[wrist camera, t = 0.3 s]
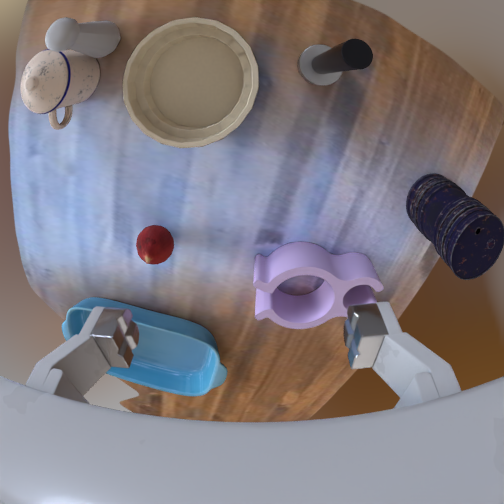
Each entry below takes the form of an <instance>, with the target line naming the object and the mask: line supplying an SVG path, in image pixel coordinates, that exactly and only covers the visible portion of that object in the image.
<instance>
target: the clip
mask: <svg viewBox="0 0 504 504" xmlns="http://www.w3.org/2000/svg"><path fill="white" fill-rule="evenodd" d="M299 275H313V276H317V277H320V278H322V279H324V280H325V281H324V282H323V284H322V285H321V286H320V287H319V288H318V289H317V290H315V291H313V292H311V293H309V294H306V295H299V296H295V295H289V294H285V293H283V292H281V291H280V290H278V289H277V286H278V285H279V284H281V283H282V282H283V281H285V280H287V279H289V278H291V277H294V276H299ZM253 285H254V287H256V304H255V318H256V319H257V320H262V319H264V318H270V319H271V320H272V321H273V322H275V323H277V324H278V325H281V326H283V327H287V328H292V329H306V328H311V327H315V326H318V325H320V324H322V323H324V322H326V321H328V320H329V319H331V318H334V317H338V316H344V317H348V315H347V310H348V307H349V305H355V304H367V303H377V301H376V298H375V296H374V294H373V291H372V289H371V287H373V288H374V289H375V291H376V292H379V291H382V290H383V285H382V283H381V281H380V279H379V277H378V275H377V273H376V271H375V269H374V266H373V264H372V262H371V261H370V259H369V258H368V257H367V256H366V255H364V254H362V253H358V252H350V253H346V254H343V255H333V254H330V253H329V252H327V251H326V250H325V249H324V248H322V247H321V246H319V245H316V244H314V243H310V242H293V243H289V244H286V245H283V246H281V247H279V248H278V249H276V250H275V251H274V252H272V253H271V254H270V256H268V257H264V256H263V255H261V254H258V255H256V257H255V266H254V284H253Z"/></svg>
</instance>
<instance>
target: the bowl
mask: <svg viewBox="0 0 504 504" xmlns="http://www.w3.org/2000/svg"><path fill="white" fill-rule="evenodd" d="M122 85H123V96H124V103H125V105H126V107H127V110H128V112H129V114H130V117H131V119H132V120H133V122H134V123H135V124H136V125H137V126H138V127H139V128H140V129H141V131H142V132H143V133H144V134H146V135H147V136H149V137H151V138H152V139H154V140H156V141H158V142H159V143H162V144H165V145H169V146H174V147H178V148H190V147H203V146H205V145H208V144H210V143H213V142H216V141H218V140H221V139H223V138H224V137H225V136H227V135H228V134H229V133H231V132H232V131H233V130H235V129H236V128H237V127H239V126H240V124H241V123H242V122H243V120H244V119H245V117H246V116H247V115H248V113H249V112H250V110H251V109H252V107H253V105H254V103H255V100H256V96H257V93H258V90H259V68H258V65H257V62H256V60H255V57H254V55H253V52H252V50H251V47H250V46H249V45H248V43H247V42H246V41H245V40H244V39H243V38H242V37H241V36H240V35H239V34H238V32H237V31H235V30H234V29H232V28H230V27H228V26H226V25H224V24H222V23H220V22H218V21H216V20H210V19H204V18H197V17H193V18H186V19H180V20H174V21H171V22H169V23H167V24H165V25H163V26H161V27H159V28H157V29H155V30H154V31H152V32H151V33H150V34H149V35H148V36H146V37H145V38H144V39H143V40H142V41H141V42H140V43H139V44H138V45H137V46H136V48H135V50H134V51H133V53H132V55H131V57H130V58H129V60H128V62H127V65H126V69H125V73H124V77H123V82H122Z"/></svg>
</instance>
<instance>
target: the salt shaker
mask: <svg viewBox="0 0 504 504" xmlns="http://www.w3.org/2000/svg"><path fill="white" fill-rule="evenodd" d="M120 39H121V38H120V34H119V29H118V27H117V26H116V25H115V23H113V22H109V21H96V22H86V23H77V21H76V20H75V19H71V18H67V17H66V18H61V19H58V20H56V21H55V22H54V23H53V24H52V25H51V26H50V28H49V29H48V31H47V34H46V38H45V40H46V46H47V47H48V49H50V50H52V51H55V52H61V51H65V50H67V49H71V50H74V51H77V52H80V53H82V54H85V55H88V56H90V57H93V58H100V57H105V56H106V55H108V54H110V53H111V52H113V51H114V50H115V49H116V47H117V45H118V43H119V41H120Z"/></svg>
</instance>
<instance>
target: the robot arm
mask: <svg viewBox="0 0 504 504" xmlns="http://www.w3.org/2000/svg"><path fill="white" fill-rule="evenodd" d="M347 315H348V319H347V320H346V321H345V324H344V342H345V346H346V347H348V348H349V352H348V359H349V363H350V367H351V369H359V368H369V367H373V369H374V370H375V371H376V372H377V374H378V375H379V376H380V377H381V378H382V379H383V380H384V381H385V382H386V383H387V384H388V385H389V386H390V387H391V388H392V389H393V390H394V391H395V392H396V393H397V395H398V396H399V397H400V400H399V402H398V403H397V404H396V406H395V407H394V409H390V410H385V411H379V412H373V413H367V414H361V415H354V416H347V417H339V418H329V419H320V420H306V421H290V422H215V421H198V420H186V419H176V418H167V417H158V416H151V415H144V414H138V413H132V412H126V411H120V410H114V409H109V408H105V407H100V406H96V405H91V404H89V402H88V401H87V400H86V399H85V398H84V397H83V396H84V394H86V393H87V391H88V390H89V389H90V388H91V387H92V386H93V385H94V384H95V383H96V382H97V381H98V380H99V379H100V378H101V377H102V376H103V375H104V374H105V373H106V372H107V371H108V370H109V369H110V368H111V367H119V368H129V367H130V365H131V362H132V359H133V356H134V355H133V352H132V350H133V349H135V348H136V347H137V345H138V342H139V329H138V326H137V324H136V323H135V322H134V321H132V320H131V319H132V317H133V315H132V312H131V310H130V309H127V308H115V307H99V306H96V307H95V308H93V310H92V312H91V313H90V315H89V317H88V319H87V320H86V322H85V324H84V326H83V328H82V330H81V332H80V333H79V335H77V334H76V335H74V336H73V337H72V338H70V339H69V340H67V341H66V342H65V343H63V344H62V345H60V346H59V347H58V348H56V349H55V350H54V351H52V352H51V353H49V354H48V355H47V356H46V357H44V358H43V359H41V360H40V361H39V362H37V363H36V365H35V367H34V369H33V371H32V373H31V375H30V377H29V379H28V381H27V383H26V385H23V384H20V383H17V382H15V381H12V380H9V379H6V378H4V377H2V376H0V504H504V376H503V377H501V378H498V379H496V380H493V381H490V382H488V383H485V384H482V385H479V386H476V387H474V388H471V389H468V390H464V391H461V389H460V387H459V384H458V381H457V379H456V377H455V375H454V372H453V370H452V368H451V365H450V364H448V363H447V362H446V361H444V360H443V359H442V358H440V357H439V356H438V355H436V354H435V353H434V352H432V351H431V350H429V349H428V348H427V347H425V346H424V345H423V344H421V343H420V342H419V341H417V340H416V339H414V338H413V337H412V336H410V335H409V334H408V333H403V332H402V330H401V328H400V325H399V323H398V321H397V319H396V316H395V314H394V312H393V310H392V308H391V305H390V303H389V302H377V303H367V304H355V305H349V307H348V310H347Z"/></svg>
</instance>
